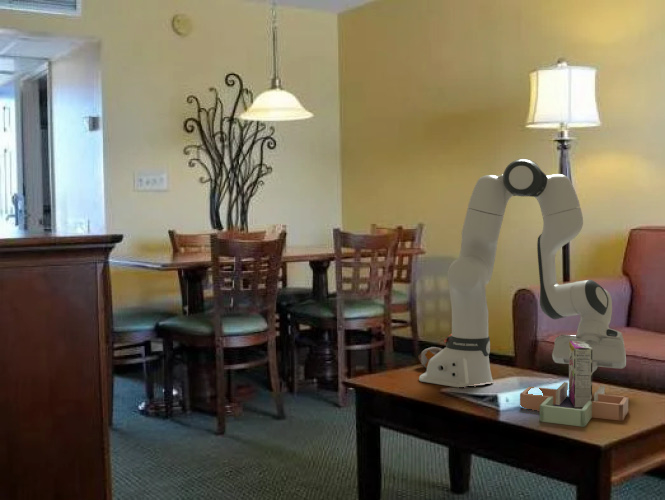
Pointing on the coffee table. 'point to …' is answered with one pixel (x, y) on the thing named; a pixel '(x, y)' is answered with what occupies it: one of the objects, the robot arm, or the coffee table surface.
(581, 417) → the channel
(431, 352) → the decorative duck model
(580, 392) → the candy bar box
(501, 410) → the coffee table surface
